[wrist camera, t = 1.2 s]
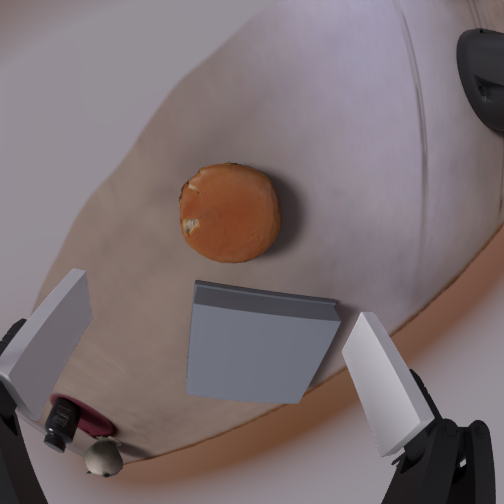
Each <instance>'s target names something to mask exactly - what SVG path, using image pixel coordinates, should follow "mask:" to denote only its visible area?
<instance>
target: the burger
mask: <svg viewBox="0 0 504 504" xmlns="http://www.w3.org/2000/svg"><path fill="white" fill-rule="evenodd" d="M181 192H182V193H181V195H180V197H179V203H180V223H181V227H182V234H183V236H184V238H185V240H186V242H187V243H188V244H189V246H190V247H192V248H193V249H194V250H195V251H197V252H198V253H199V254H201V255H203V256H205V257H207V258H209V259H211V260H213V261H217V262H220V263H241V262H247V261H250V260H252V259H255V258H257V257H258V256H260V255H261V254H262V253H264V252H265V251H266V250H267V249H268V248H269V247H270V246H271V245H272V244H273V242H274V241H275V239H276V238H277V236H278V234H279V231H280V228H281V213H280V204H279V200H278V195H277V193H276V190H275V188H274V185H273V183H272V182H271V180H270V179H269V178H268V177H267V176H266V175H265V174H263V173H262V172H260V171H258V170H256V169H253V168H251V167H249V166H241V164H240V165H239V164H237V163H229V162H228V163H224V164H216V165H210V166H207V167H203V168H201V169H199V172H198V174H196V175H195V176H194V177H192V178H191V179H190V180H189V181H187V182H186V183H185V184H184V185H183V187H182V190H181Z"/></svg>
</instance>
